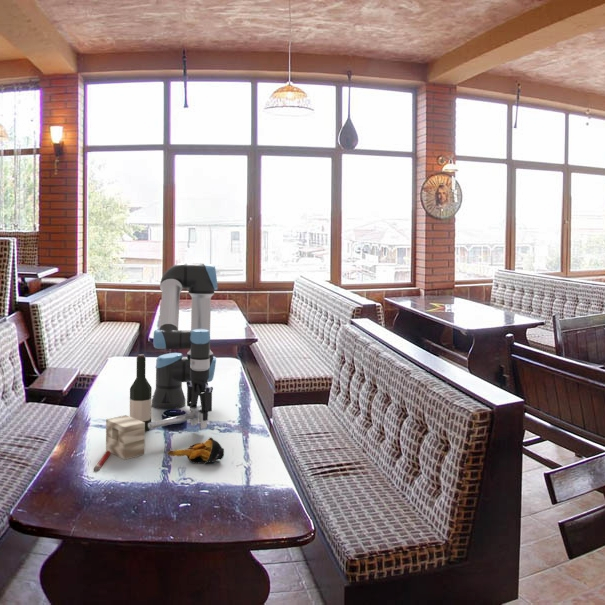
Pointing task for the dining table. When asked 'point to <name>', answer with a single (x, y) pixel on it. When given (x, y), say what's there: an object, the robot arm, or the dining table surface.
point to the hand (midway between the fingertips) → (198, 426)
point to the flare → (102, 461)
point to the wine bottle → (141, 395)
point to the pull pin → (179, 418)
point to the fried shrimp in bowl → (201, 452)
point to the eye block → (125, 437)
